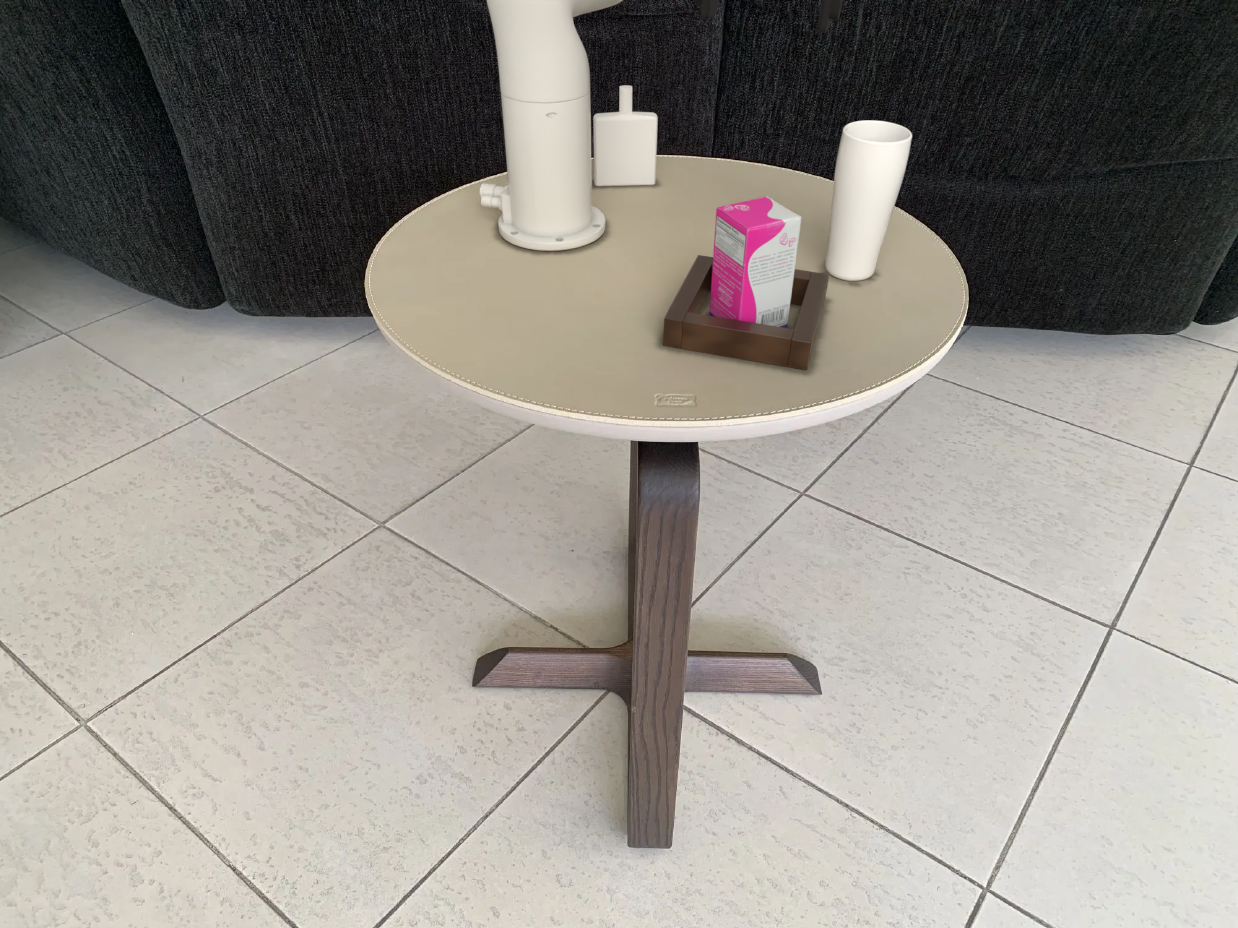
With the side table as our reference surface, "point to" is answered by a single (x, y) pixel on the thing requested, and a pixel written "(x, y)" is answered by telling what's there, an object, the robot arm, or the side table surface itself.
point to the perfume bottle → (625, 145)
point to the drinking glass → (864, 195)
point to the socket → (742, 336)
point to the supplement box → (754, 262)
